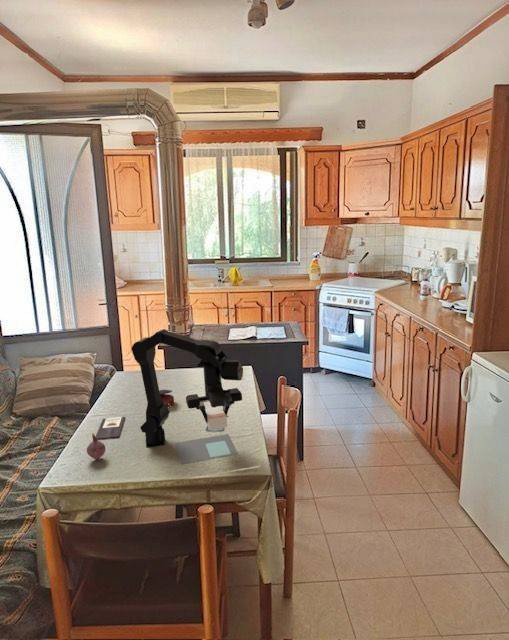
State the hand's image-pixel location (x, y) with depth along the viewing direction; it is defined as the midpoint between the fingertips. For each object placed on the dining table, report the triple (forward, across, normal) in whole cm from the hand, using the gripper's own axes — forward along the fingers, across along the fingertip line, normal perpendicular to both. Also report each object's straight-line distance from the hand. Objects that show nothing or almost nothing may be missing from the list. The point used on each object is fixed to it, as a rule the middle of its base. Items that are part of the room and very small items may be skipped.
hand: (215, 420), depth 163 cm
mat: (+11, -4, +2) cm, 12 cm away
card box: (+1, 0, 0) cm, 1 cm away
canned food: (+11, -14, +49) cm, 52 cm away
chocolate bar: (+11, -36, +32) cm, 50 cm away
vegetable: (+11, -41, +9) cm, 43 cm away
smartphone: (+12, +4, +21) cm, 24 cm away
